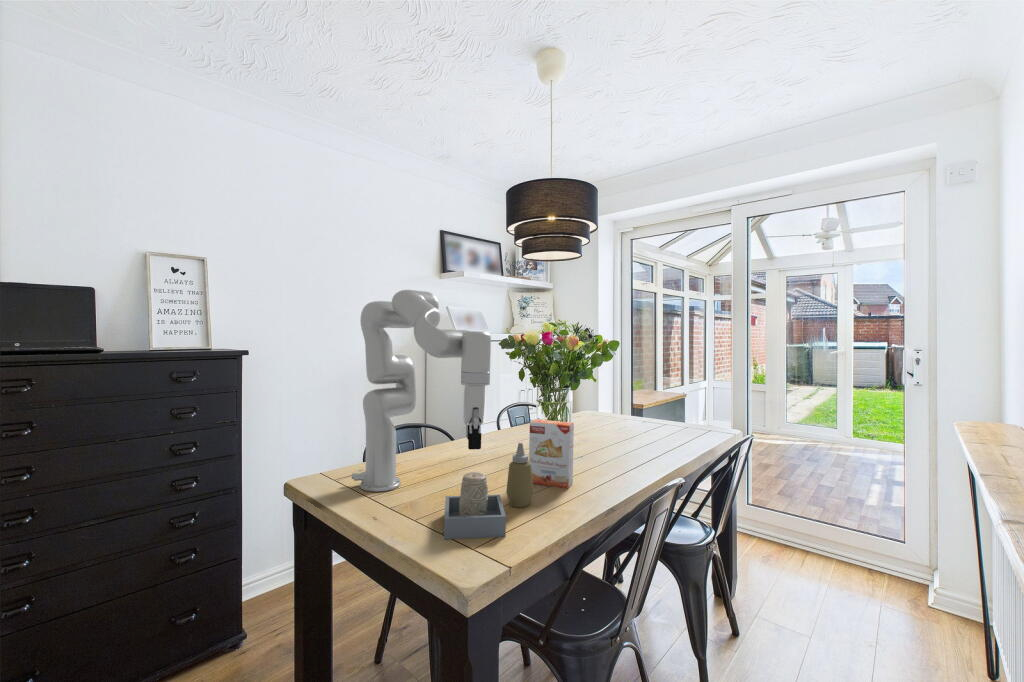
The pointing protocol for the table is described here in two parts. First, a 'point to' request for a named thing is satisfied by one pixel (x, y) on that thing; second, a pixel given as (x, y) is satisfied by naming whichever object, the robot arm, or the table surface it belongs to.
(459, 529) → the bin
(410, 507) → the table surface
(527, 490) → the squeeze bottle
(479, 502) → the carving
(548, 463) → the cracker box
